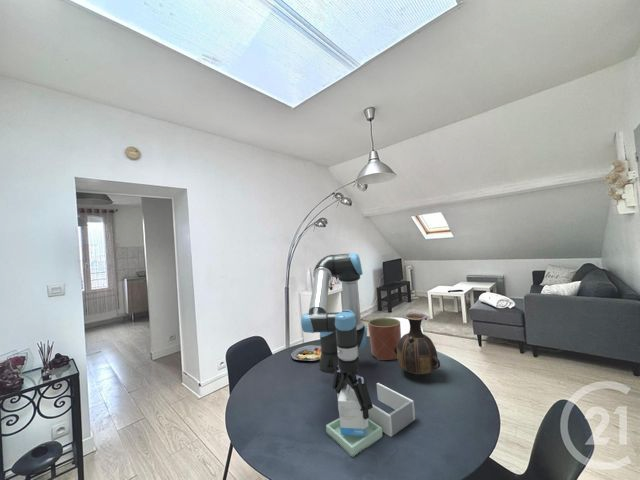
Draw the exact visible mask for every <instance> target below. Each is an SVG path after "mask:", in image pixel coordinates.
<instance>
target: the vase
mask: <svg viewBox="0 0 640 480" xmlns="http://www.w3.org/2000/svg"><path fill="white" fill-rule="evenodd" d="M402 318H403V319H406V320H408V323H409V332H407V333H405V334H403V335H401V339H400V341H399V343H398V346H396V347H395V349H394V351H395V353H396V355H397V359H396V360H397V362H398V365H399V367H400V368H401V369H402V370H404V371H406V372H407V373H410V374H414V375H426V374H431V373H432V372H434V371H436V370H437V369H439V368H441V367H440V366H441V361H440V359H439V357H438V352H437V349H436V345H435V344H434V342H433V341H432V339H431V338H430V337H428V336H427V335H426V334H424V333H423V331H422V321H423V320H424V321H427V320H428V315H427V314H424V313H423V312H421V313H420V312H407V313H404V314H402ZM396 348H397V350H396Z"/></svg>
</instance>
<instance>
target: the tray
mask: <svg viewBox="0 0 640 480" xmlns="http://www.w3.org/2000/svg"><path fill="white" fill-rule="evenodd" d="M368 425H369V426H368V427H366V428H365V436H346V435H341V430H340V417H338V418H337V419H335V420H333V421H331V422H329V423H327V424H325V430H326V431H325V432H326V435H328V437H329V438H331V439H332V440H333V441H334V442H335V443H336V444H337V443H338V444H339V445H340V446H339V447H341V448H342V449H343V450H344V451H345V452H346V453H347V455H349V456H350V455H351V456H352V457H353V458H354V457H356V456H357V455H358V453H359V452H360V453H362V452H363V451H365V450H366V449H367V448H369V447H370V446H372V445H373V444H375V442H377V441H379V440H380V439H381V438H383V436H384V435H383V431H382V428H381V427H380V426H378V425H377V424H375V423H374V422H373V421H371V420H370V419H368ZM338 444H337V445H338ZM365 448H366V449H365ZM362 450H363V451H362ZM360 453H359V454H360ZM356 454H357V455H356ZM355 455H356V456H355ZM351 456H350V457H351ZM352 457H351V458H352Z"/></svg>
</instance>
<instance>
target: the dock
mask: <svg viewBox="0 0 640 480" xmlns="http://www.w3.org/2000/svg"><path fill="white" fill-rule="evenodd" d="M376 394H377V395H376V397H377V400H378V401H379V402H381V403H383V404H384V405H386V406H387V407H389V408H391V409H393V411H392V412H389V413H387V412H386V411H384V410H383V409H381V408H380V407H378V406H376V405H375V404H373V403H372V406H373V408H371V409H369V410H368V414H369V418H368V419H370V420H371V421H373V422H374V423H375V424H377V425H378V426H380V427H381V428H382V433H384V434H386V435H387V436H389V437H390V438H391V437H393V436H394V435H396V434H397V433H399V432H400V431H401V430H402V429H404V428H406V427H407V426H408V425H410V424H412V422H414V421H415V420H416V412H415V403H414V400H413V399H412V398H409V397H407V396H405V395H403V394H401V393H399V392H397V391H395V390H393V389H391V388H389V387H387V386H386V385H383V384H381V383H380V382H377V383H376Z"/></svg>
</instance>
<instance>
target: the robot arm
mask: <svg viewBox="0 0 640 480" xmlns="http://www.w3.org/2000/svg"><path fill="white" fill-rule="evenodd" d="M312 273H313V274H312V275H313V276H312V277H313V278H314V279H313V286H312V290H311V297H310V302H309V309H308V312H307V313H303V314H302V316H301V318H300V319H301V322H300V323H301V324H300V325H301V330H302V331H303V332H304V333H307V334H308V333H309V334H314V333H316V334H317V333H319V340H320V345H321V357H320V359H319V361H318V368H319V370H320V371H322V372H325V373H334V377H333V382H332V390H335V392H336V400H337V401H338V399H339V395H340V392H341V389H342V388H344V389H345V386H346V384H348V385H349V386H350V387H351V388H352V389H353V390H354V392H355V394H356V397H357V399H358V401H359V404H360V406H361V408H360V419H361V429H365V428H366V427H368V426H369V425H368V418H369V414H368V410H369V409H371V408H373V406H372V404H373V402H372V399H371V396H370V393H369V390H368V387H367V383H366V377H365V376H364V375H363V376H360V375H359V372H358V371H359V369H360V359H359V355H360V354H359V349H362V348H366V346H367V341H368V328H367V327H368V325H365V323H364V321H362V320H361V319H362V317H361V308H360V307H361V305H360V293H359V284H358V283H359V282H358V281H359V280H360V279H361V276H362V275H363V273H364V272H363V268H362V263H361V259H360V256H359V254H358V253H351V252H350V253H340V254H327V255H326V256H324V257H323V258H321V259H320V260H319V261H318V262H317V264H316V265H315V266H314V269H313V272H312ZM332 277H334V278H335V277H338V281H339V282H340V283H341V289H342V298H343V300H342V301H343V310H342V311H339V312H337V311H336V312H327V309H328V299H329V289H330V280H332ZM337 409H338V412H339V403H338V402H337Z"/></svg>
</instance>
